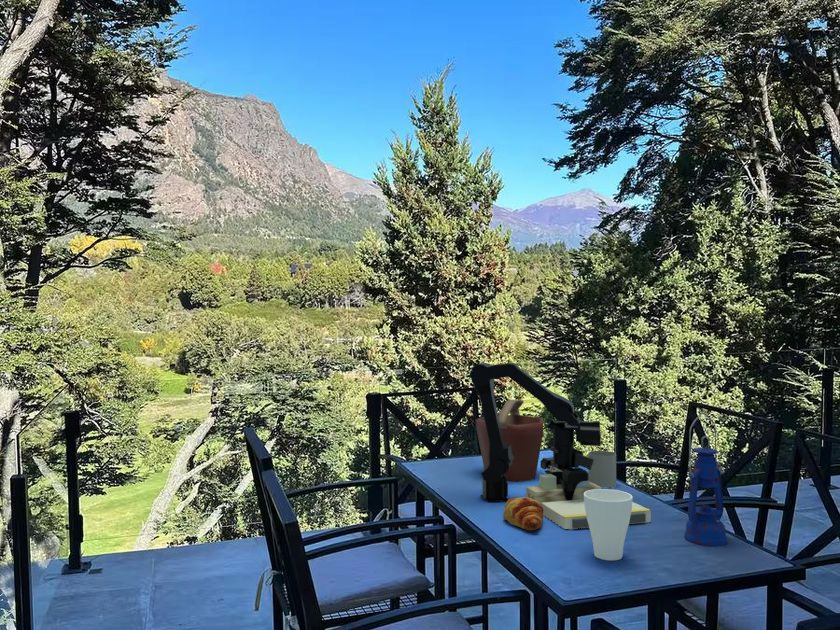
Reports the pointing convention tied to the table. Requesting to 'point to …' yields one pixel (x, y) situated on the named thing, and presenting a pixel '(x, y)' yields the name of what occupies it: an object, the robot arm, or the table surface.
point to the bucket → (515, 441)
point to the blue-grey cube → (582, 484)
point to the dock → (584, 513)
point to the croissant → (524, 513)
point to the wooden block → (556, 493)
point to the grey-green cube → (547, 481)
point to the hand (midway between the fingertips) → (563, 499)
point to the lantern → (705, 519)
